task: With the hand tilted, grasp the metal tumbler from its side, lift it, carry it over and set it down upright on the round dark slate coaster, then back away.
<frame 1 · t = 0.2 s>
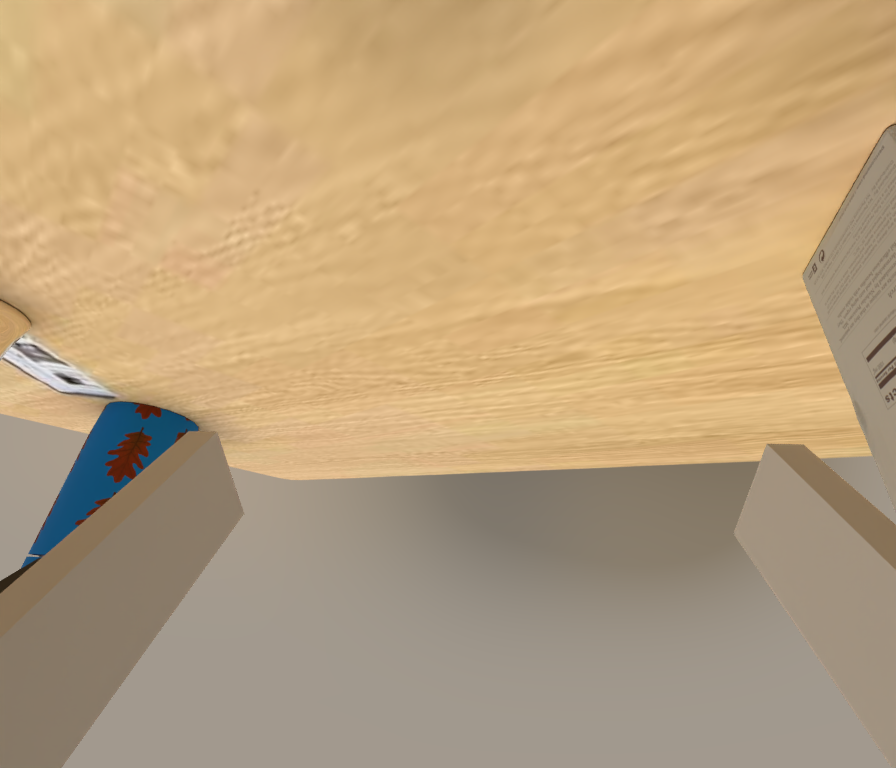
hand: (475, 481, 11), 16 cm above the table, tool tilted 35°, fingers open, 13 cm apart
thermos: (154, 417, 55), on the table
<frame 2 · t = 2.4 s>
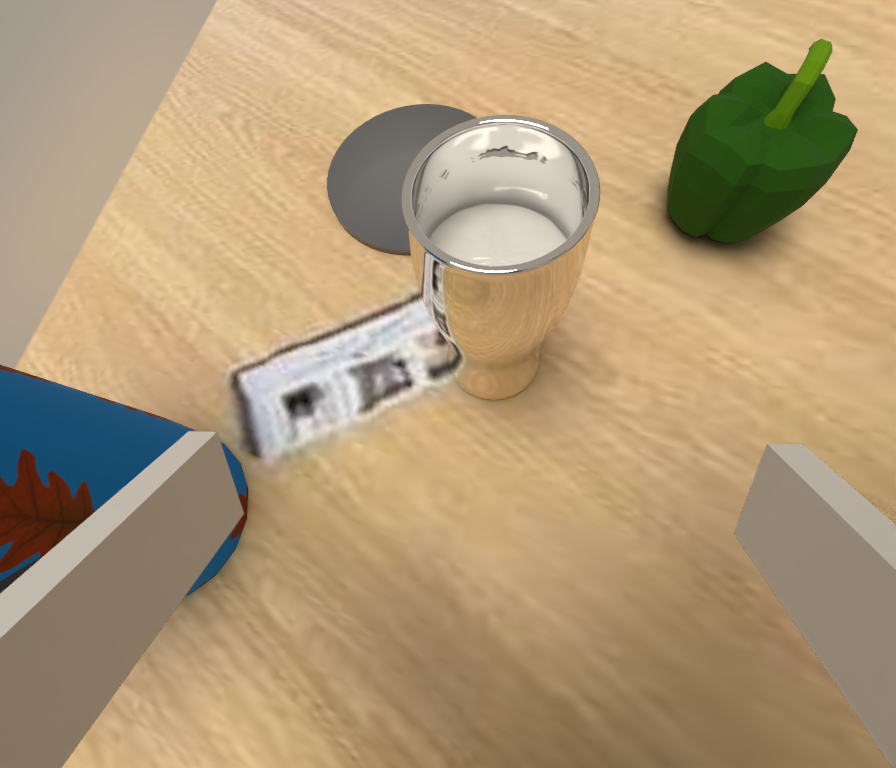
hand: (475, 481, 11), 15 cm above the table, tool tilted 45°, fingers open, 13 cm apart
thermos: (171, 512, 27), on the table
coaster: (416, 179, 33), on the table
metal tumbler: (493, 357, 28), on the table
bell pepper: (709, 215, 30), on the table
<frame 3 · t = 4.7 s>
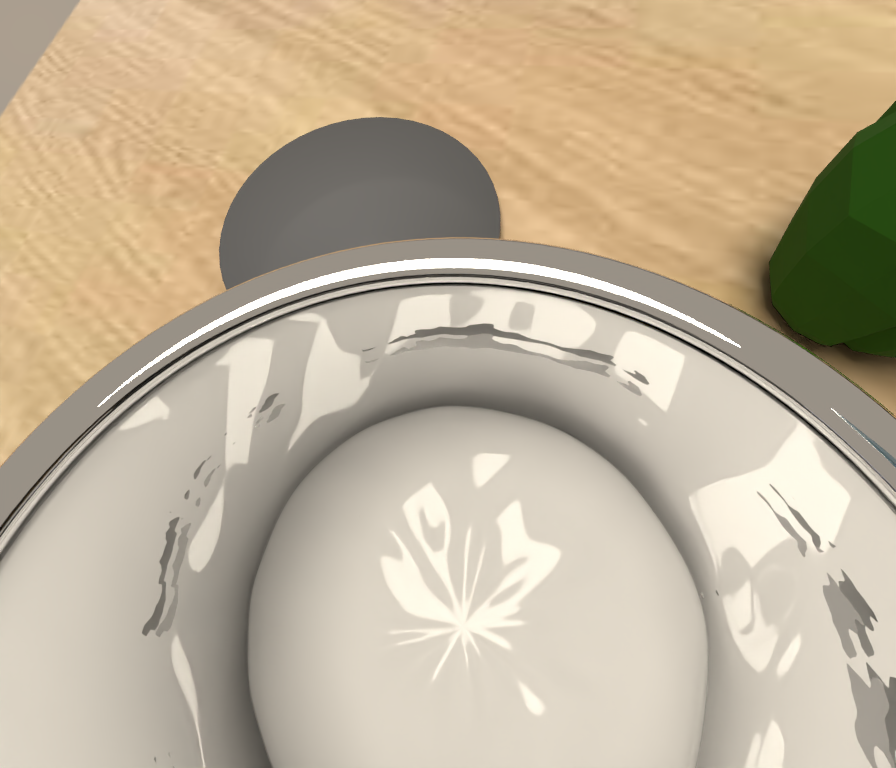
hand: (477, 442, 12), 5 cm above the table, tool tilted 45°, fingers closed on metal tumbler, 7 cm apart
coaster: (361, 234, 21), on the table
metal tumbler: (479, 559, 16), on the table, touching gripper
bell pepper: (835, 300, 18), on the table
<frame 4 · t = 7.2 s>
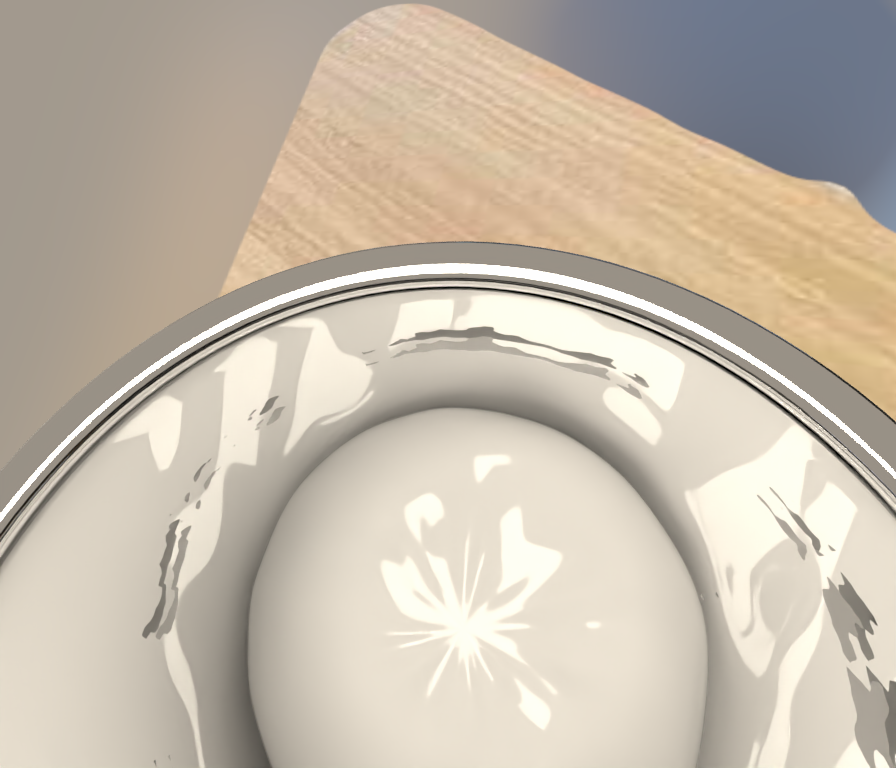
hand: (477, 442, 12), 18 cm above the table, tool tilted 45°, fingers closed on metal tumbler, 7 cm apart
metal tumbler: (479, 560, 16), point 13 cm above the table, touching gripper
when the fingers open (8 cm above the table, at t = 9.6 s): metal tumbler drops 1 cm, resting on coaster.
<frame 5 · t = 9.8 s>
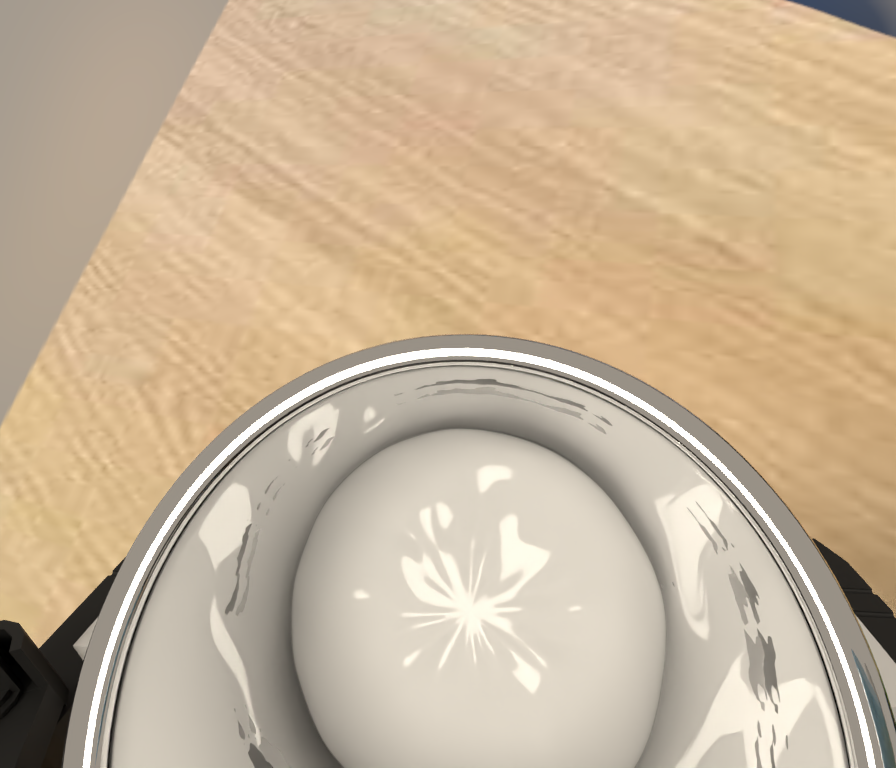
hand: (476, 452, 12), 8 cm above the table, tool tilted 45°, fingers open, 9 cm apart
metal tumbler: (478, 559, 18), point 1 cm above the table, touching coaster
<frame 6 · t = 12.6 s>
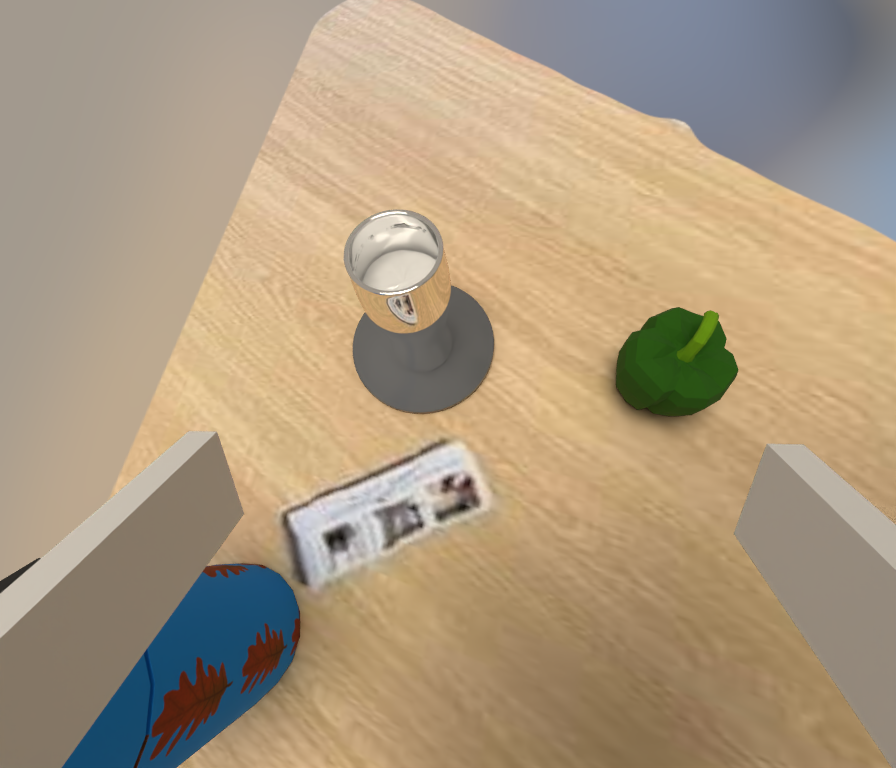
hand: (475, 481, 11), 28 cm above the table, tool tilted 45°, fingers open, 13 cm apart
thermos: (240, 630, 35), on the table
coaster: (423, 346, 42), on the table
metal tumbler: (422, 344, 42), point 1 cm above the table, touching coaster
bell pepper: (649, 385, 40), on the table
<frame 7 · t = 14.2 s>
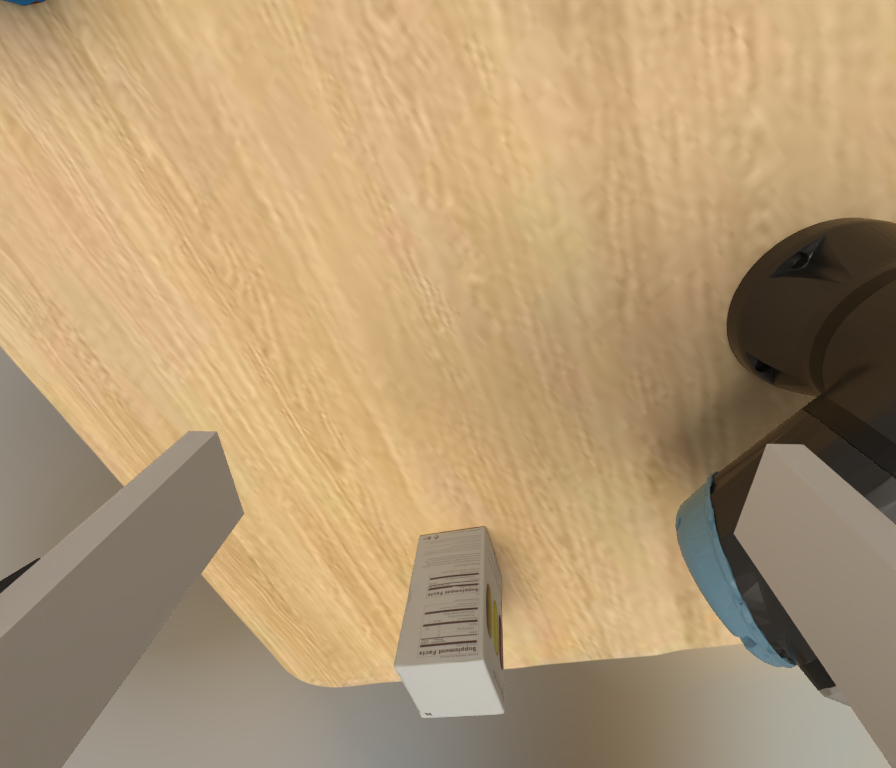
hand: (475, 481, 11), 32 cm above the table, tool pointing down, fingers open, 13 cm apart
supplement box: (460, 553, 57), on the table
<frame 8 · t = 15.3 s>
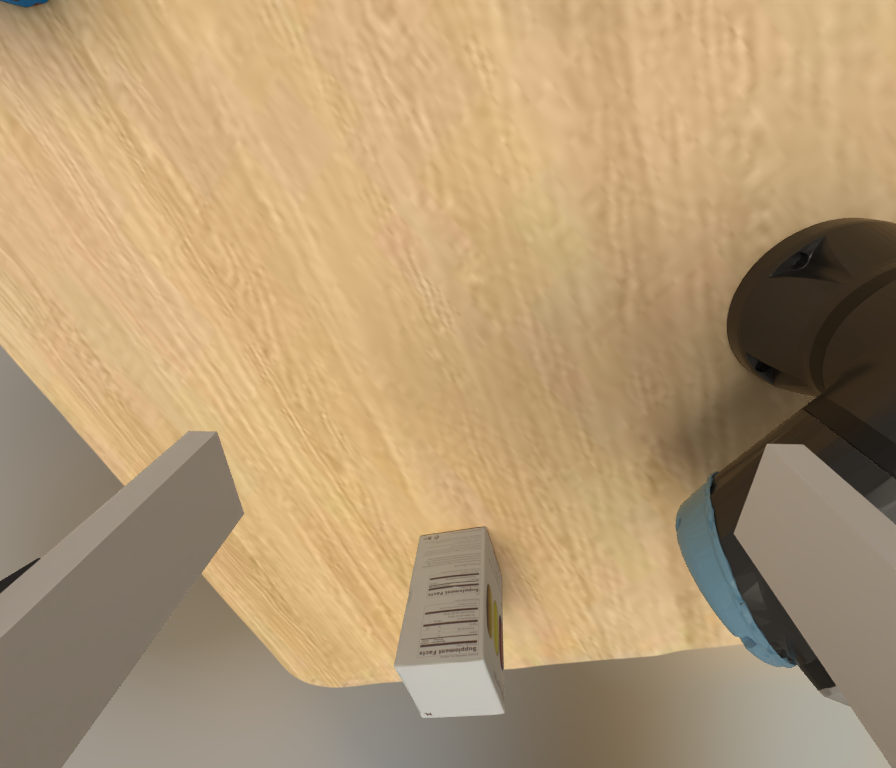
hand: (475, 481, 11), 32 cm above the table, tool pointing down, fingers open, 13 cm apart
supplement box: (461, 554, 57), on the table
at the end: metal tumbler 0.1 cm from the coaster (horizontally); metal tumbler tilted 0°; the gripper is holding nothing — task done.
